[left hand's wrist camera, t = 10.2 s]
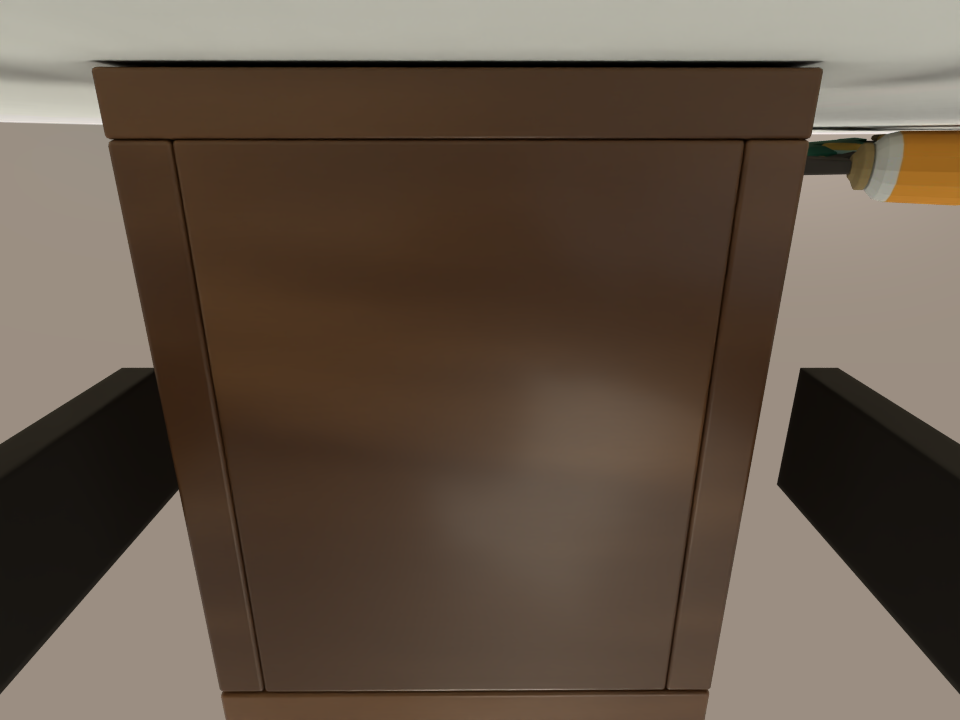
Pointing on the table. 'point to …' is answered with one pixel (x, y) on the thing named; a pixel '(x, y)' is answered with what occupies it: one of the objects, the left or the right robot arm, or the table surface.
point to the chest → (460, 358)
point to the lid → (467, 705)
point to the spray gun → (895, 165)
